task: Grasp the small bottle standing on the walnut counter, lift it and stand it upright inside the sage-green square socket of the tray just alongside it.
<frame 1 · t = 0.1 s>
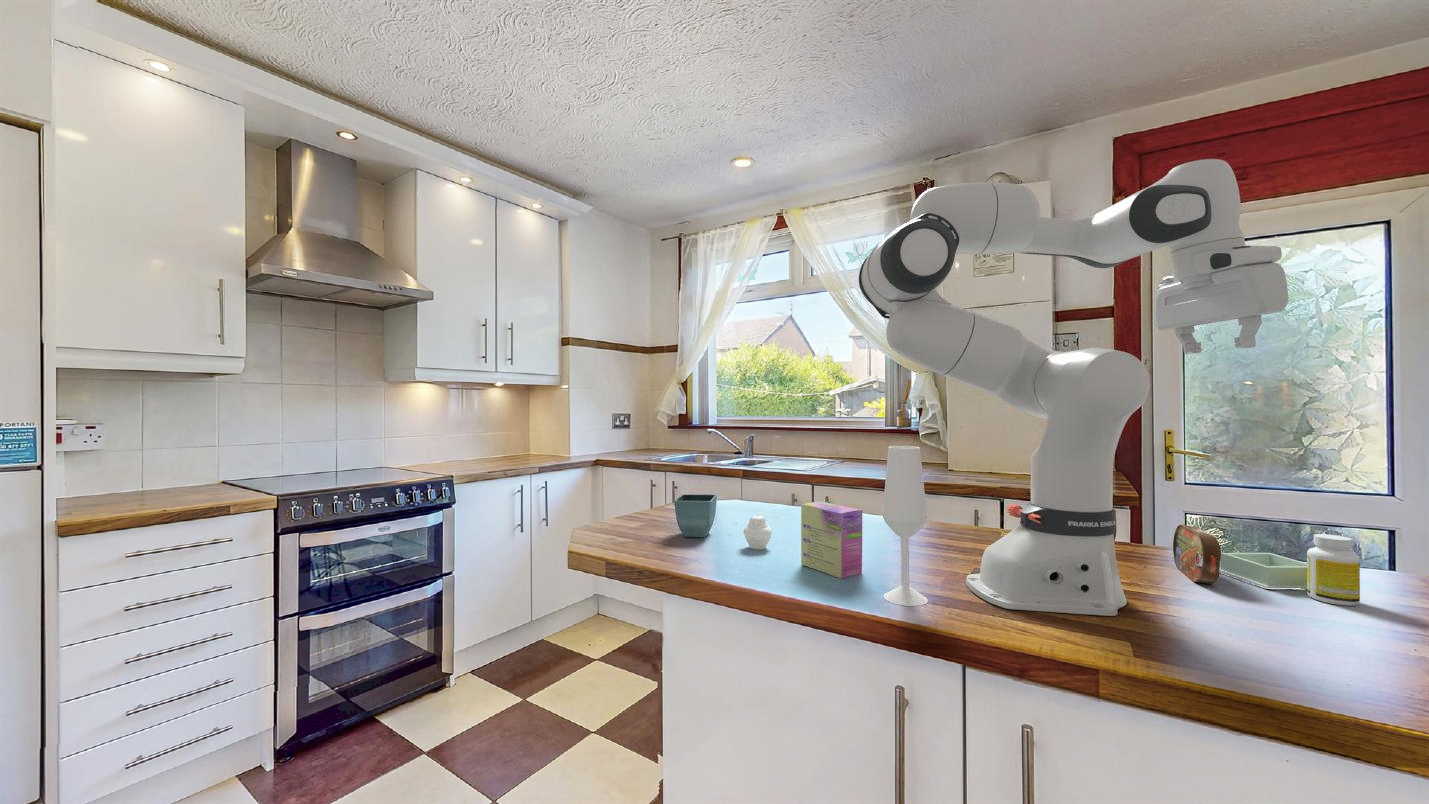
hand: (1217, 351, 87), 39 cm above the counter, tool pointing down, fingers open, 8 cm apart
tin: (1196, 577, 96), on the counter
tray: (1268, 580, 93), on the counter
supplement bottle: (1332, 601, 84), on the counter
champagne flute: (905, 599, 87), on the counter
flower pot: (696, 536, 129), on the counter
box: (831, 570, 102), on the counter
white rounded piece: (757, 548, 117), on the counter
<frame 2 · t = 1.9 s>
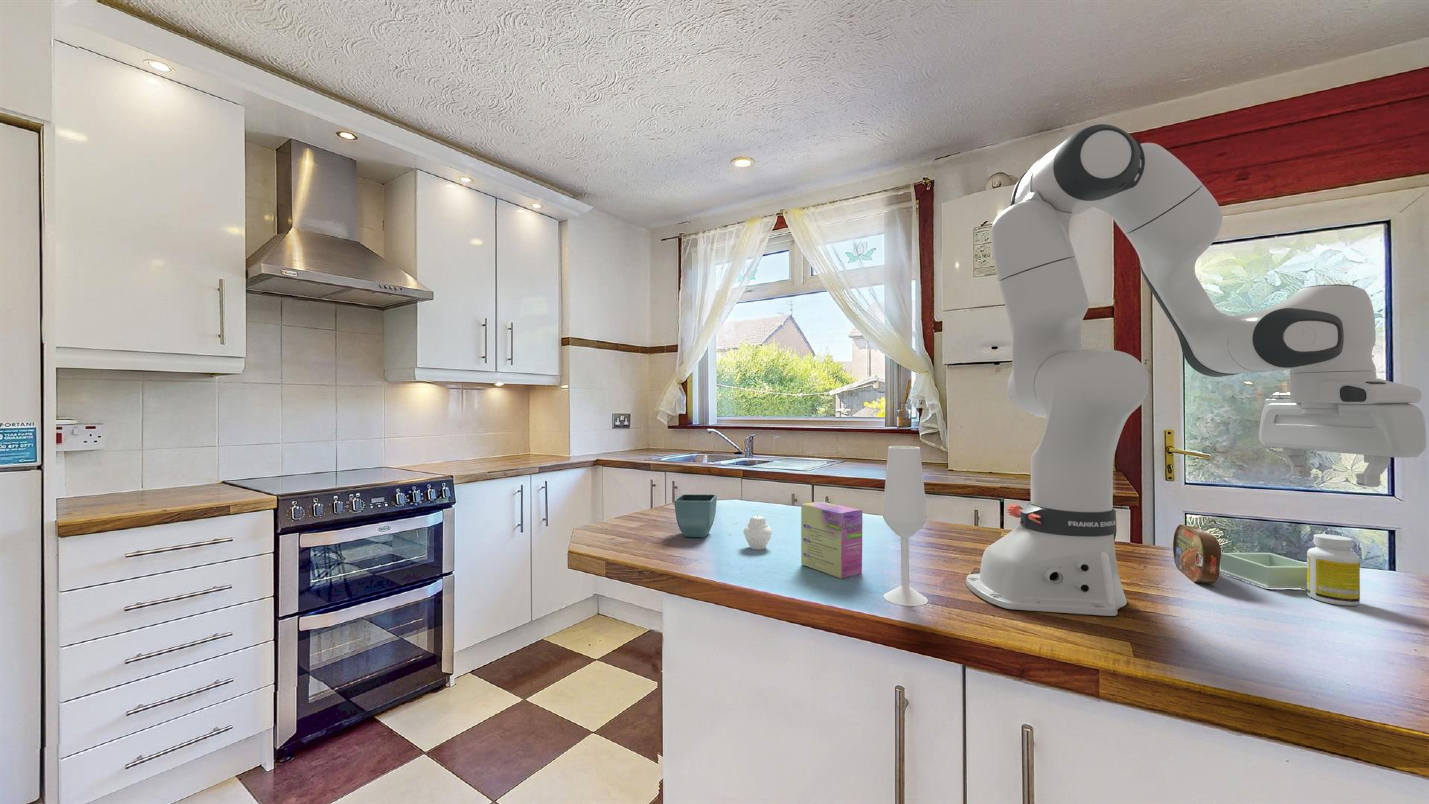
hand: (1332, 481, 84), 18 cm above the counter, tool pointing down, fingers open, 8 cm apart
nothing on the counter moved.
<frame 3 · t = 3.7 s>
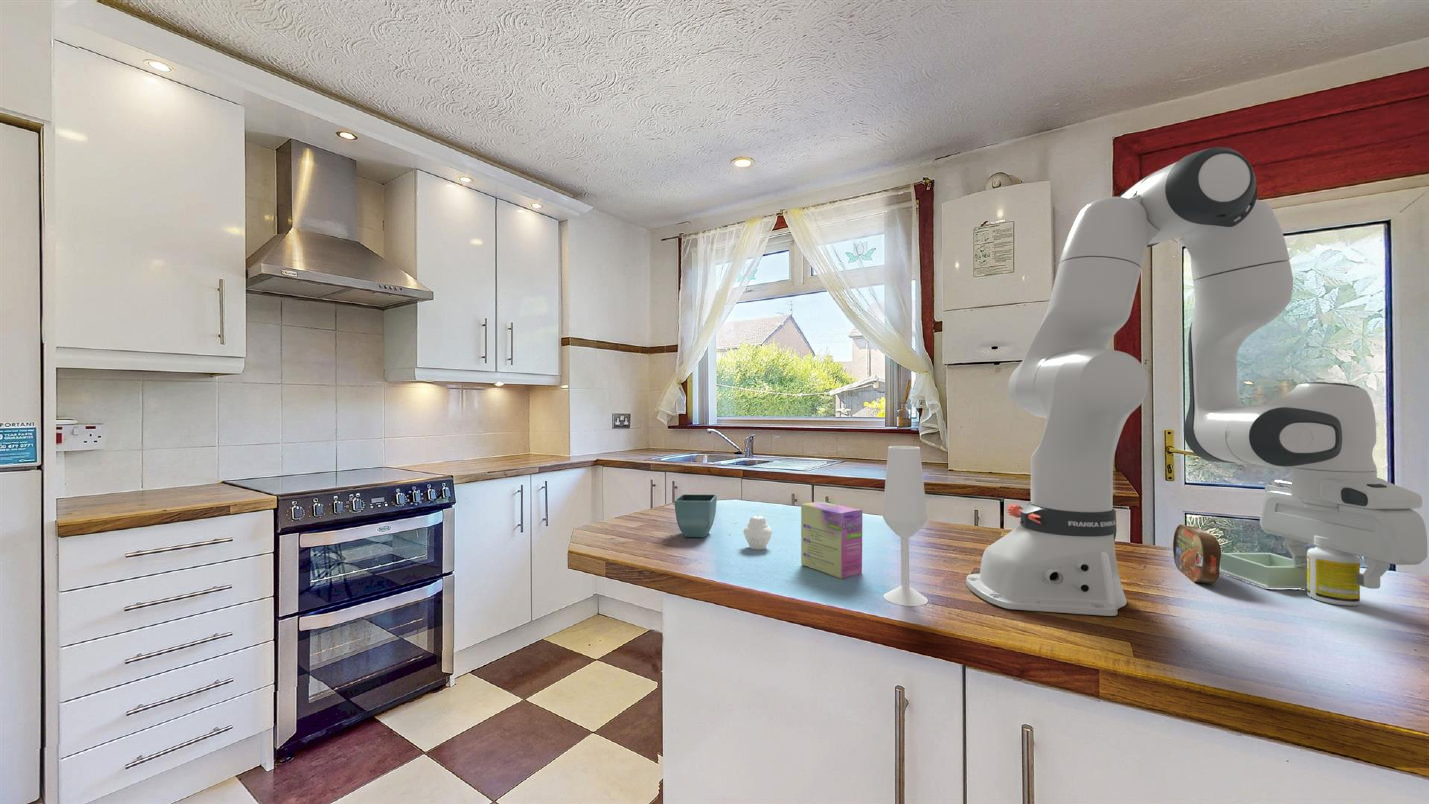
hand: (1333, 576, 84), 4 cm above the counter, tool pointing down, fingers open, 8 cm apart
nothing on the counter moved.
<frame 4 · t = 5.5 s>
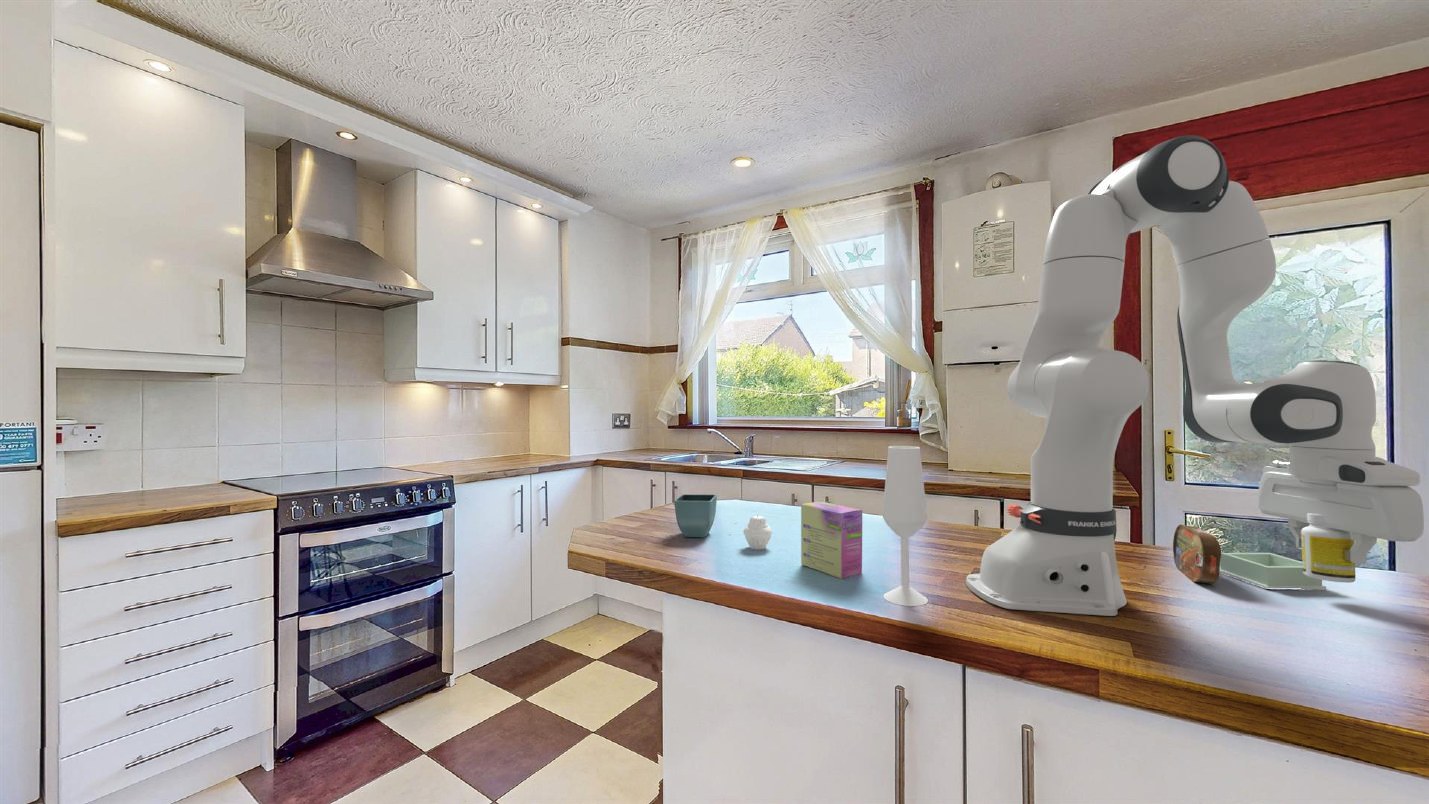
hand: (1329, 556, 84), 7 cm above the counter, tool pointing down, fingers closed on supplement bottle, 5 cm apart
supplement bottle: (1329, 580, 84), point 3 cm above the counter, touching gripper
everything else where it was.
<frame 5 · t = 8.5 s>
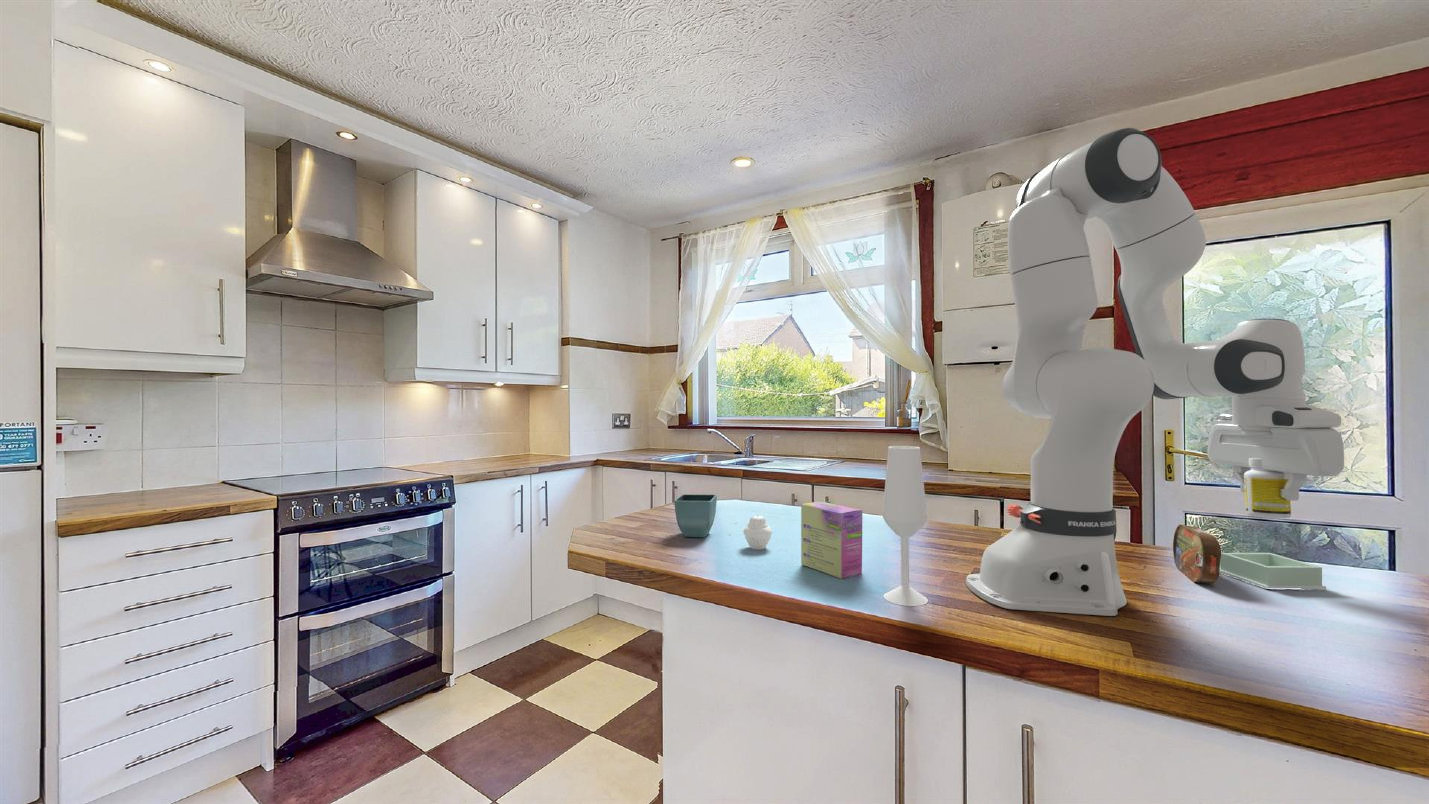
hand: (1268, 496, 93), 14 cm above the counter, tool pointing down, fingers closed on supplement bottle, 5 cm apart
supplement bottle: (1268, 517, 93), point 11 cm above the counter, touching gripper
everything else where it was.
when the fingers open (5 cm above the counter, at t = 10.9 s): supplement bottle drops 1 cm, resting on tray.
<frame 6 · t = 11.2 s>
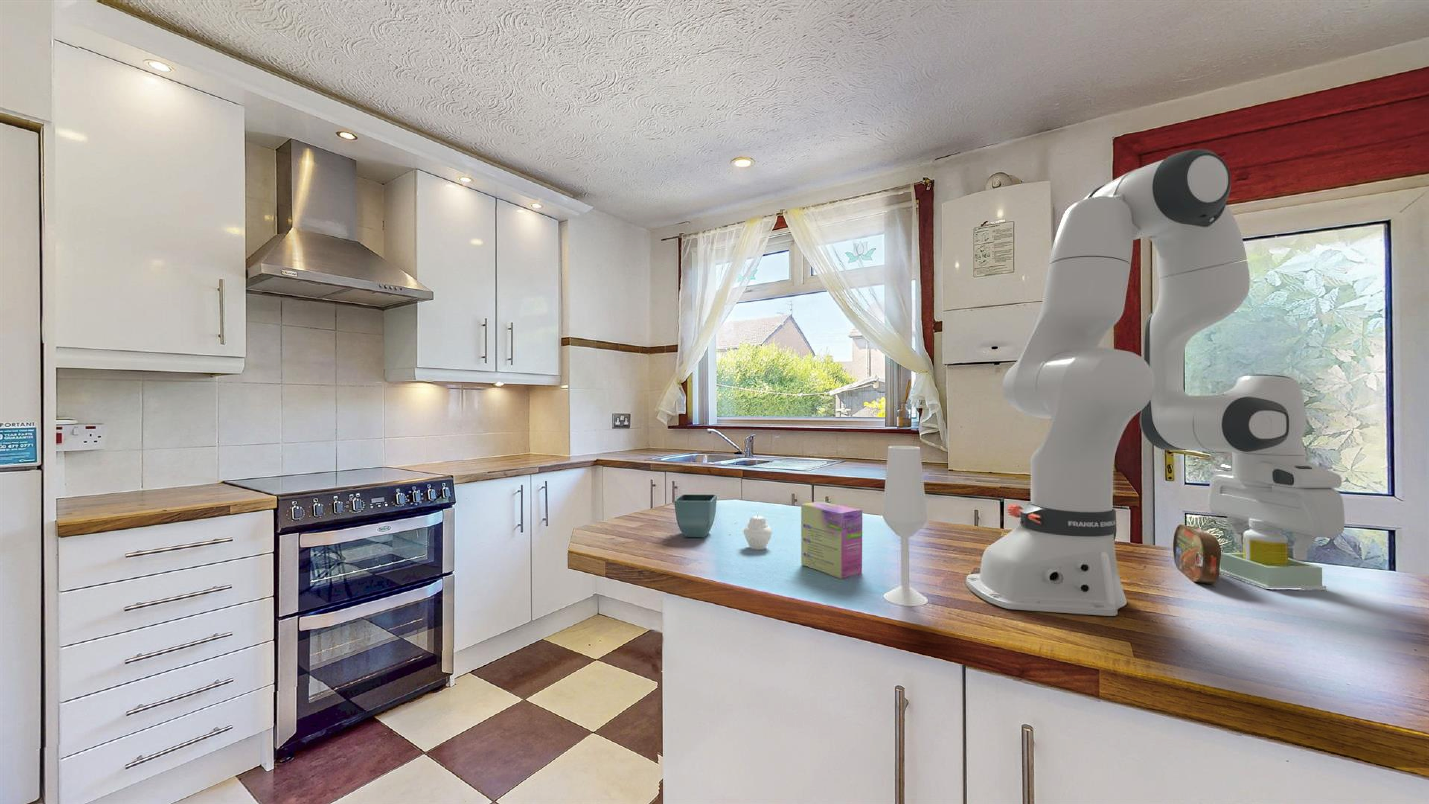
hand: (1268, 551, 93), 5 cm above the counter, tool pointing down, fingers open, 8 cm apart
supplement bottle: (1265, 578, 93), resting on tray
everything else where it was.
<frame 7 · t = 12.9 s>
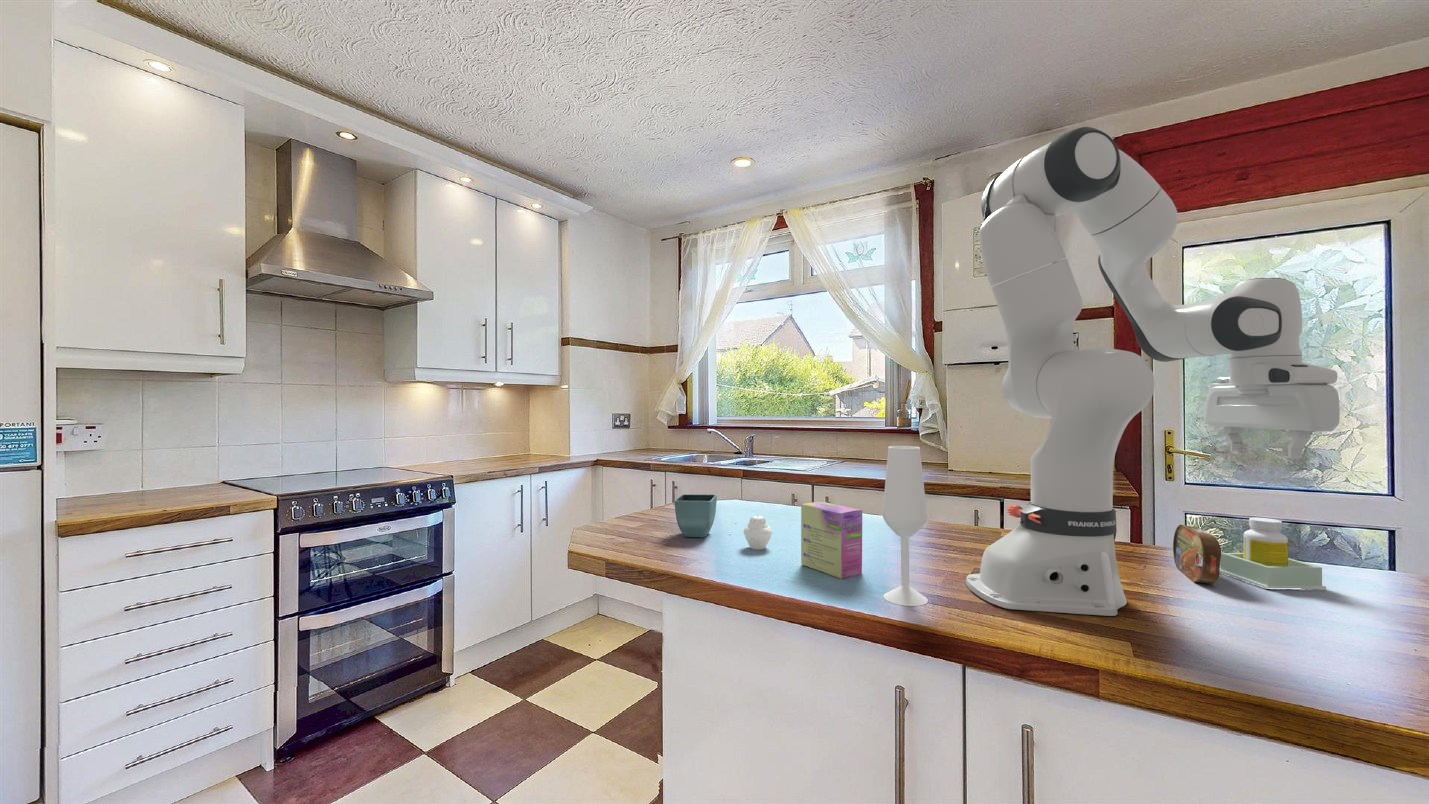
hand: (1264, 455, 93), 21 cm above the counter, tool pointing down, fingers open, 8 cm apart
nothing on the counter moved.
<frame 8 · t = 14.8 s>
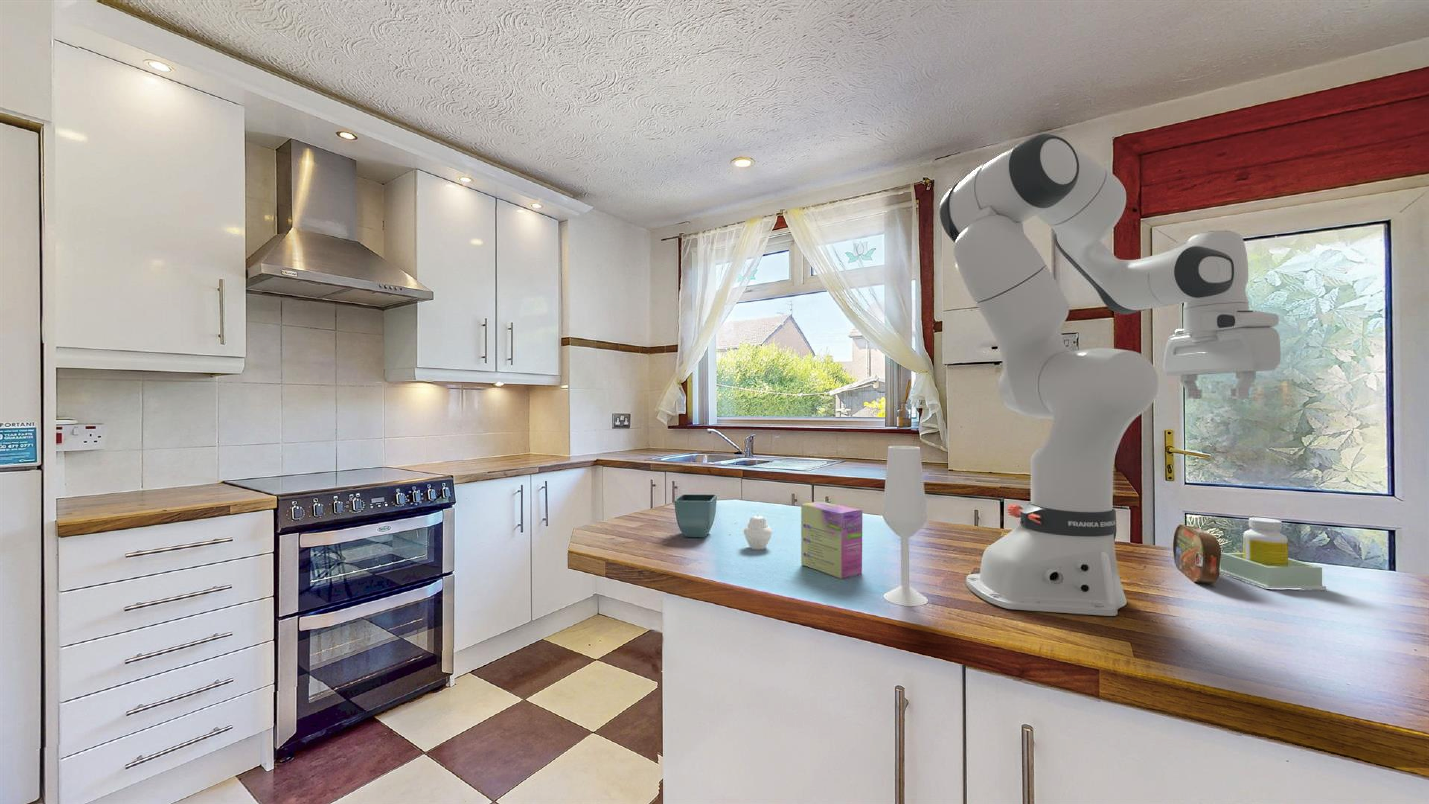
hand: (1215, 398, 100), 31 cm above the counter, tool pointing down, fingers open, 8 cm apart
nothing on the counter moved.
at the end: supplement bottle 0.4 cm off-centre on the tray, point 0.4 cm above the tray's base; supplement bottle tilted 0°; the gripper is holding nothing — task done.
